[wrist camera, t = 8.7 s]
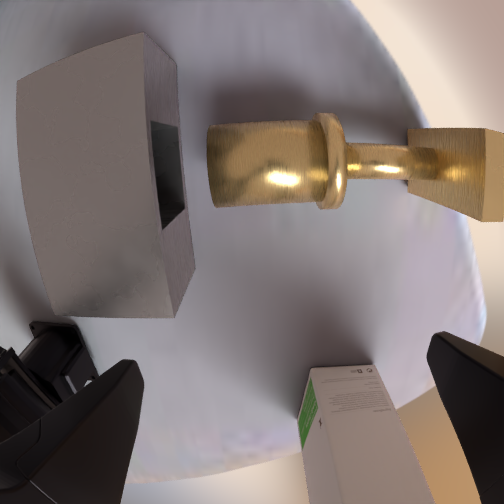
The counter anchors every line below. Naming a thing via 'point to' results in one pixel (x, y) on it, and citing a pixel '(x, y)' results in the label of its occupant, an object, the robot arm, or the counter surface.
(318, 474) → the skincare box
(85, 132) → the housing
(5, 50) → the counter surface
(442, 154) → the brass door handle
